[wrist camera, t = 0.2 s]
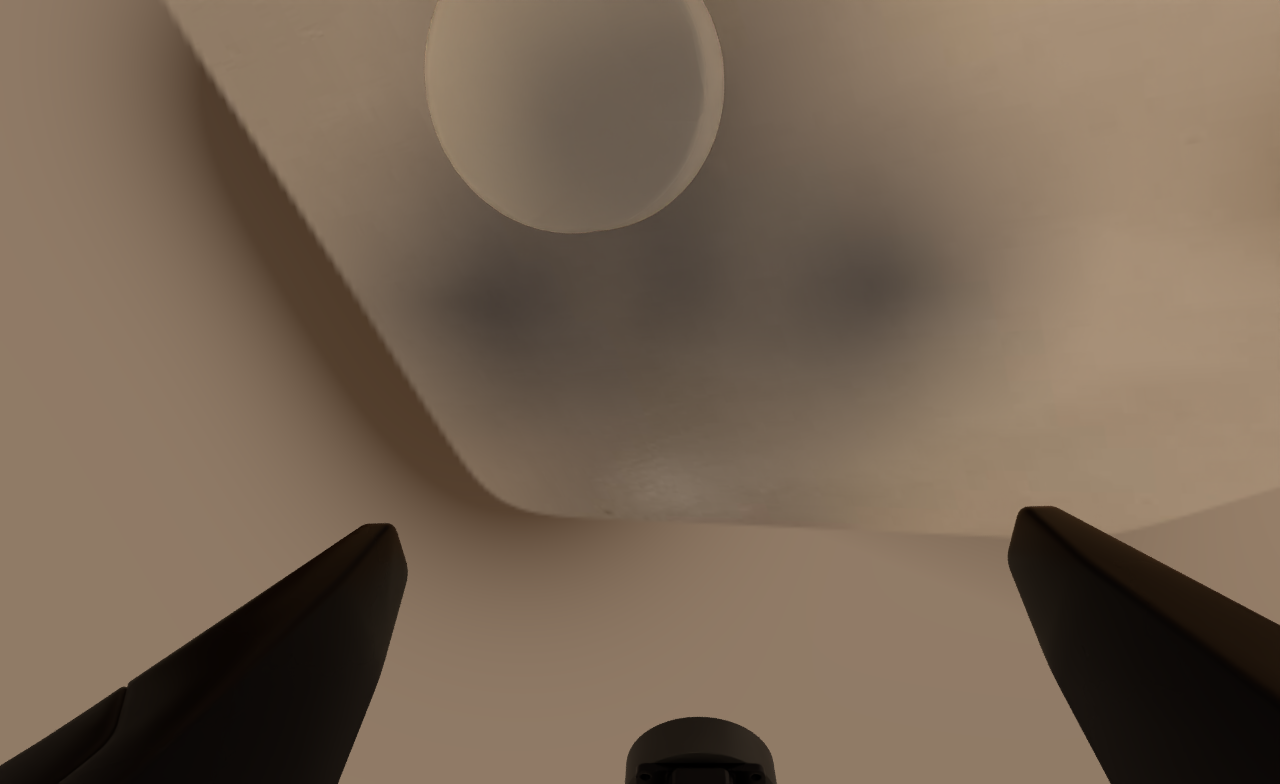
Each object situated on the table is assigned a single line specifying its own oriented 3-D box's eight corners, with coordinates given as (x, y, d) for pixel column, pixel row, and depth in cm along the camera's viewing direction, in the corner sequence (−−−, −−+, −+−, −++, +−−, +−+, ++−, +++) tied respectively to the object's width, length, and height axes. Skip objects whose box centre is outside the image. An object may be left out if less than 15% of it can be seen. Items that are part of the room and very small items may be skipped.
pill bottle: (743, 40, 19) (809, -10, 10) (659, 221, 21) (650, 318, 12) (559, -57, 18) (448, -210, 9) (493, 142, 20) (350, 183, 11)
